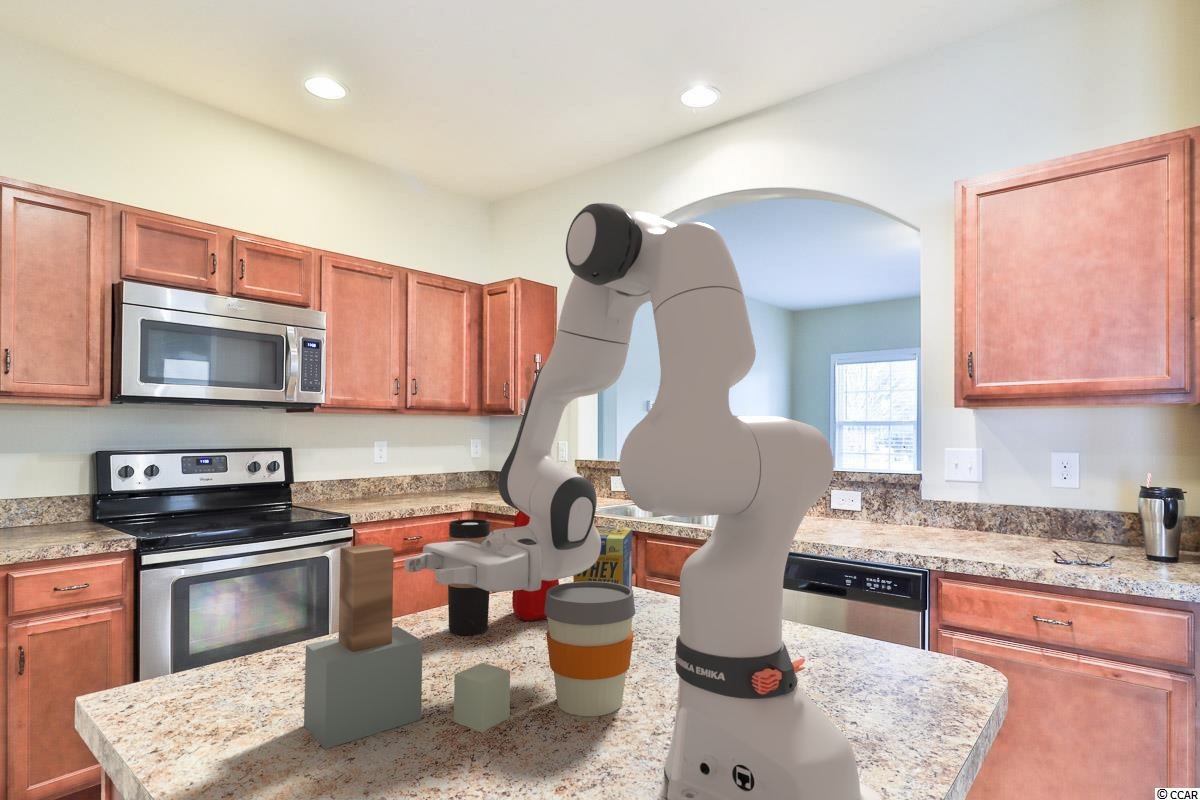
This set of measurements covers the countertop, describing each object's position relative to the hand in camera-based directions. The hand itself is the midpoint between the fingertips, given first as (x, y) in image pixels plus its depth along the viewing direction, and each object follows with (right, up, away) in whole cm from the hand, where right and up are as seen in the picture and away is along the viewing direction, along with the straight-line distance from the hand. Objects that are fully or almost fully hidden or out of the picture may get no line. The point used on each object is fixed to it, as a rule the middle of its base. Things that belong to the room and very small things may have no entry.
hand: (421, 571), depth 88 cm
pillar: (-6, -8, -5) cm, 11 cm away
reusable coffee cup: (+23, -18, +1) cm, 29 cm away
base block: (-6, -18, -6) cm, 20 cm away
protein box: (+25, -21, +50) cm, 60 cm away
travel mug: (0, -20, +32) cm, 38 cm away
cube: (+9, -18, -5) cm, 21 cm away
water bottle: (+12, -20, +41) cm, 47 cm away
